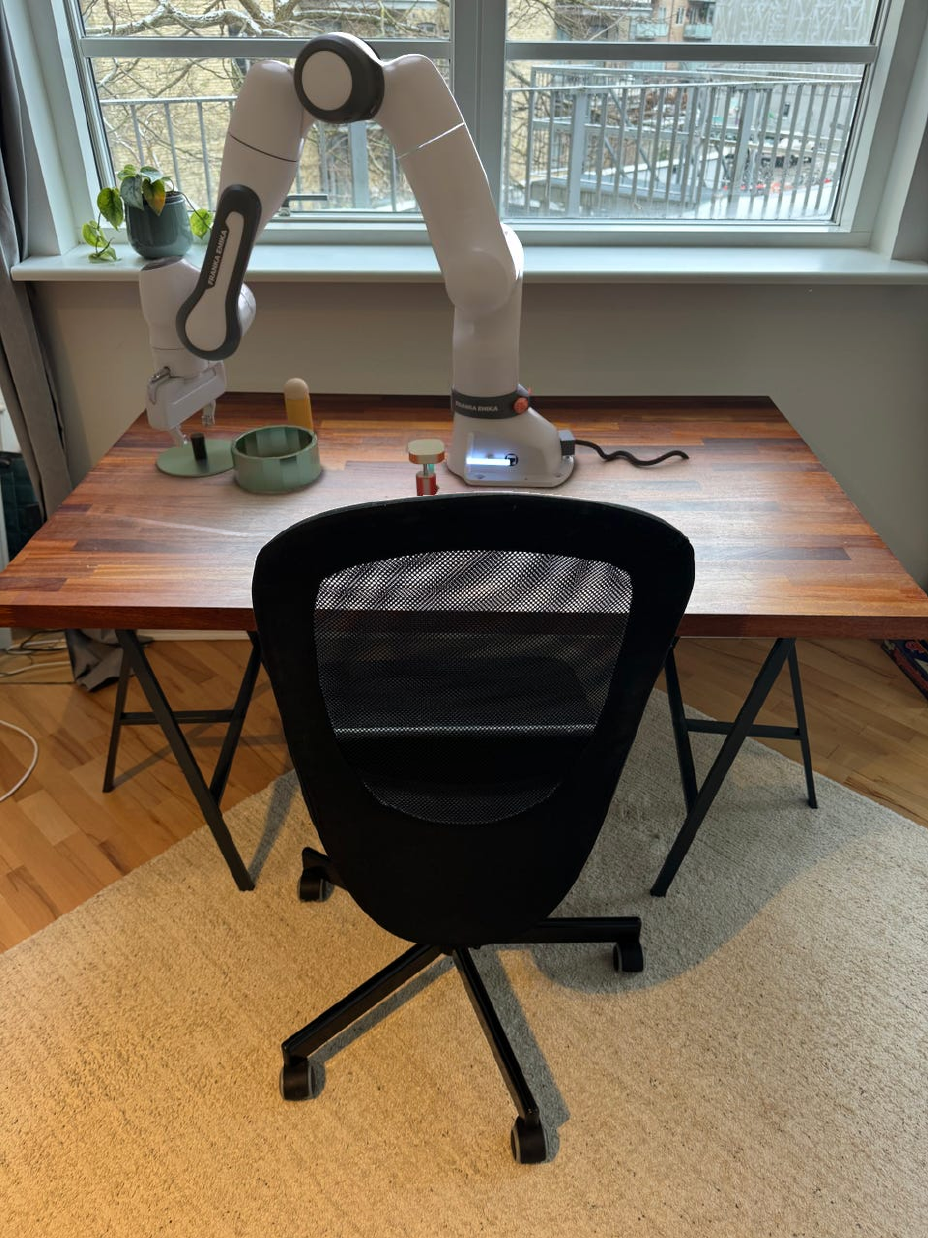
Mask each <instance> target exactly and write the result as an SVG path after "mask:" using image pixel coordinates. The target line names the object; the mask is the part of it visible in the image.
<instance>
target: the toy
mask: <svg viewBox="0 0 928 1238" xmlns="http://www.w3.org/2000/svg"><path fill="white" fill-rule="evenodd" d="M309 390H310V389H309V386H308V384H307V383H306V381H304V380H303V379H301V378H299V377H293V378H289V379H288V380H287V381H286V382H285V384H284V386H283V394H284V402H285V411H286V418H287V423H288V424H287V425H292V426H300V427H303V428H306V429H309V430H311V431H312V432H313V433H315V432H314V431H315V429H314V422H313V414H312V406H311V398H310V397H311V396H310V394H309V393H310V391H309Z"/></svg>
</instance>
